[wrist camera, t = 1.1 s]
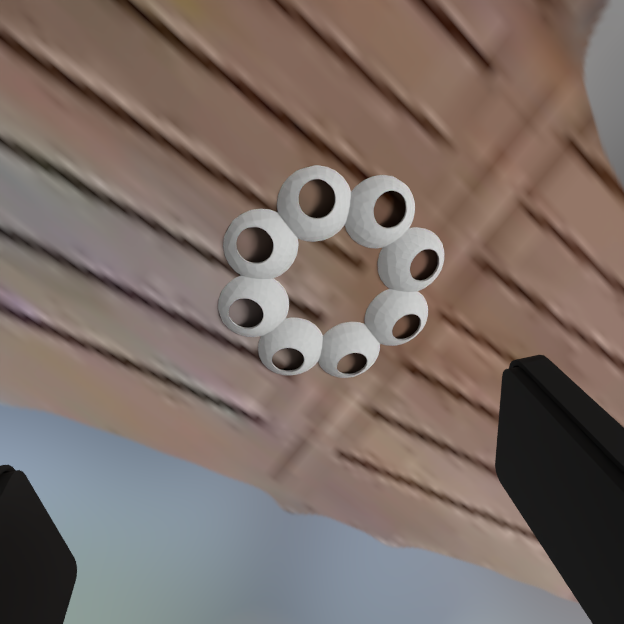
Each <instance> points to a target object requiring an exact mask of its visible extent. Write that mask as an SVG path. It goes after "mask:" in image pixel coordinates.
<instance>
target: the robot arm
mask: <svg viewBox="0 0 624 624" xmlns="http://www.w3.org/2000/svg"><path fill="white" fill-rule="evenodd" d="M495 468H496V473H497V476H498V478H499V481H500V483H501V484H502V486H503V487H504V489H505V490H506V492H507V493H508V495H509V497H510V498H511V500H512V501H513V503H514V504H515V506H516V507H517V509H518V510H519V512H520V513H521V515H522V516H523V518H524V519H525V521H526V522H527V524H528V526H529V527H530V529H531V530H532V532H533V533H534V535H535V536H536V538H537V539H538V541H539V542H540V544H541V545H542V547H543V548H544V550H545V552H546V553H547V555H548V556H549V558H550V559H551V561H552V562H553V564H554V565H555V567H556V568H557V570H558V571H559V573H560V574H561V576H562V578H563V579H564V581H565V582H566V584H567V585H568V587H569V588H570V590H571V591H572V593H573V594H574V596H575V597H576V599H577V600H578V602H579V603H580V605H581V607H582V608H583V610H584V611H585V613H586V614H587V616H588V617H589V619H590V620H591V622H592V623H593V624H624V428H623V427H622V426H621V425H620V424H619V423H618V422H617V421H616V420H615V419H614V418H612V417H611V416H610V415H609V414H608V413H607V412H606V411H605V410H604V409H603V408H602V407H600V406H599V405H598V404H597V403H596V402H595V401H594V400H593V399H592V398H591V397H589V396H588V395H587V394H586V393H585V392H584V391H583V390H582V389H581V388H580V387H579V386H577V385H576V384H575V383H574V382H573V381H572V380H571V379H570V378H569V377H568V376H567V375H565V374H564V373H563V372H562V371H561V370H560V369H559V368H558V367H557V366H556V365H555V364H553V363H552V362H551V361H550V360H549V359H548V358H547V357H545V356H544V355H536V356H532V357H527V358H522V359H517V360H514V361H512V362H511V363H510V366H509V369H506V370H504V372H503V375H502V387H501V399H500V411H499V424H498V436H497V449H496V461H495ZM76 576H77V565H76V561H75V558H74V557H73V555H72V553H71V551H70V550H69V548H68V546H67V545H66V543H65V541H64V540H63V538H62V536H61V535H60V533H59V531H58V529H57V528H56V526H55V524H54V523H53V521H52V519H51V517H50V516H49V514H48V512H47V511H46V509H45V507H44V506H43V504H42V502H41V501H40V499H39V497H38V496H37V494H36V492H35V491H34V489H33V487H32V485H31V484H30V482H29V480H28V479H27V477H26V475H25V474H24V473H23V472H22V471H20V470H17V471H15V469H14V468H13V467H11V466H10V465H2V466H0V624H63V622H64V619H65V615H66V612H67V608H68V605H69V602H70V598H71V595H72V591H73V588H74V584H75V581H76Z"/></svg>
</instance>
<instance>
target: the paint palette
mask: <svg viewBox="0 0 624 624" xmlns="http://www.w3.org/2000/svg"><path fill="white" fill-rule="evenodd" d="M313 179H321V180H324V181H326V182H327V183H328V184H329V185H330V186H331V187H332V189H333V190H334V194H335V203H334V207H333V208H332V210H331V212H330V213H329V214H328V215H326V216H324V217H321V218H312V217H309V216H307V215H306V214H305V213H304V212H303V211H302V210H301V208H300V205H299V199H298V196H299V192H300V190H301V188H302V187H303V185H304V184H305V183H307V182H308V181H310V180H313ZM387 191H397V192H399V193H400V194H401V195H402V196H403V198H404V200H405V205H406V210H405V214H404V217H403V219H402V220H401V221H400V222H399V223H398V224H397V225H396V226H394V227H390V228H385V227H382V226H380V225H379V224H378V223H377V222H376V220H375V218H374V213H373V209H374V205H375V202H376V200H377V199H378V198H379V196H380V195H381V194H383V193H384V192H387ZM277 210H278V213H277V212H275V211H272V210H268V209H255V210H250V211H247V212H245V213H243V214H241V215H239V216H238V217H237V218H236V219H234V220H233V221H232V223H231V225H230V226H229V228H228V230H227V232H226V234H225V236H224V244H223V248H224V253H225V257H226V259H227V261H228V263H229V265H230V266H231V267H232V268H233V269H234V270H235V271H236V272H237V273H239V274H240V275H242V276H239V277H237V278H235V279H233V280H232V281H231V282H229V283H228V284H227V285H226V286H225V288H224V289H223V290H222V292H221V295H220V297H219V302H218V310H219V313H220V317H221V319H222V321H223V323H224V324H225V325H226V326H227V327H228V328H229V329H230V330H232V331H233V332H235V333H237V334H239V335H243V336H246V337H258V336H261V338H260V340H259V345H258V352H259V357H260V359H261V361H262V363H263V364H264V365H265V366H266V367H267V368H268V369H269V370H271V371H273V372H275V373H278V374H282V375H295V374H300V373H303V372H305V371H307V370H309V369H310V368H312V367H313V366H314V365H315V364H316V363H317V362H319V364H320V366H321V368H322V369H323V370H324V371H325V372H327V373H328V374H330V375H332V376H336V377H340V378H348V377H354V376H357V375H359V374H361V373H363V372H365V371H366V370H367V369H369V368H370V367H371V366H372V365H373V364H374V362H375V360H376V359H377V357H378V354H379V350H380V344H383V345H393V346H394V345H399V344H403V343H405V342H408V341H410V340H411V339H413V338H414V337H415V336H416V335H417V334H418V333H419V332H420V331H421V330H422V328H423V327H424V325H425V323H426V320H427V317H428V306H427V303H426V300H425V299H424V297H423V296H422V294H420V293H419V292H418V291H419V290H421V289H424V288H425V287H427V286H428V285H430V284H431V283H432V282H433V281H434V280H435V279H436V278H437V276H438V274H439V273H440V271H441V269H442V266H443V262H444V249H443V244H442V242H441V241H440V239H439V238H438V236H436V235H435V234H434V233H433V232H432V231H429V230H427V229H425V228H417V227H415V228H409V227H410V225H411V223H412V221H413V217H414V213H415V202H414V199H413V195H412V193H411V191H410V189H409V188H408V186H407V185H405V184H404V183H403V182H401V181H400V180H398V179H396V178H395V177H393V176H387V175H378V176H373V177H370V178H368V179H366V180H364V181H362V182H361V183H360V184H358V185H357V186H356V187H355V188H354V189H353V191H352V192H351V191H350V188H349V185H348V184H347V182H346V181H345V179H344V178H343V177H342V176H341V175H340V174H339V173H337V172H336V171H335V170H333V169H330V168H328V167H324V166H318V165H315V166H311V167H306V168H303V169H300V170H297V171H296V172H294V173H293V174H292V175H291V176H289V177H288V178H287V180H286V181H285V182H284V184H283V185H282V187H281V190H280V192H279V195H278V201H277ZM344 225H345V227H346V230H347V232H348V234H349V235H350V236H351V238H352V239H353V240H354V241H356V242H357V243H358V244H360V245H362V246H365V247H368V248H382V247H383V248H382V250H381V252H380V254H379V259H378V273H379V276H380V279H381V280H382V281H383V283H384V284H385V285H386V286H387V287H388V288H390V289H388V290H385V291H383V292H382V293H380V294H379V295H378V296H376V297H375V298H374V300H373V301H372V302H371V303H370V305H369V307H368V309H367V311H366V315H365V324H363V323H360V322H346V323H342V324H339V325H337V326H334V327H333V328H331V329H330V330H329V331H327V332H326V333H325V335H324V336H322V333H321V331H320V330H319V329H318V328H317V326H316V325H314V324H313V323H311V322H310V321H308V320H305V319H302V318H286V316H287V313H288V309H289V300H288V295H287V293H286V291H285V289H284V288H283V286H282V285H281V284H280V283H279V282H278V281H276V280H275V279H273V278H275V277H277V276H280V275H281V274H283V273H284V272H285V271H286V270H288V268H289V267H290V266H291V265H292V263H293V262H294V260H295V257H296V255H297V251H298V238H299V239H301V240H304V241H313V242H315V241H321V240H325V239H327V238H330V237H332V236H333V235H335V234H336V233H337V232H339V231H340V230H341V229H342V227H343V226H344ZM249 227H259V228H262V229H264V230H265V231H267V232H268V234H269V235H270V236H271V238H272V240H273V251H272V254H271V255H270V257H269V258H268V259H267V260H265V261H263V262H259V263H252V262H249V261H247V260H245V259H244V258H243V257H241V256H240V254H239V252H238V250H237V246H236V241H237V237H238V235H239V234H240V233H241V231H242V230H244V229H246V228H249ZM425 249H432V250H434V251H435V252H436V253H437V256H438V265H437V267H436V270H435V271H434V273H433V274H432V275H431V276H430V277H428V278H427V279H425V280H420V281H419V280H415V279H414V278H412V276H411V274H410V265H411V262H412V260H413V258H414V257H415V256H416V255H417V254H418V253H419V252H420V251H422V250H425ZM243 298H246V299H251V300H254V301H255V302H257V303H258V304H259V305H260V306H261V308H262V310H263V319H262V321H261V322H260V323H259V324H258V325H256V326H254V327H250V328H245V327H241V326H238V325H237V324H236V323H234V322H233V321H232V320H231V318H230V317H229V312H228V311H229V307H230V306H231V304H232V303H233V302H234V301H236V300H238V299H243ZM408 314H415V315H417V316H418V317H419V318H420V325H419V327H418V329H417V330H416V332H415V333H414V334H412V335H411V336H409V337H407V338H404V339H397V338H395V337H394V336H393V335H392V329H393V326H394V324H395V323H396V321H397V320H399V319H400V318H401V317H403V316H405V315H408ZM285 318H286V319H285ZM283 348H293V349H296V350H298V351H300V352H301V353H302V354H303V356H304V362H303V364H302V365H301V366H300V367H299V368H297V369H295V370H290V371H285V370H280V369H279V368H277V367H275V366H274V364H273V363H272V356H273V355H274V354H275V352H277V351H278V350H280V349H283ZM350 353H361V354H363V355H364V356H366V358H367V362H366V364H365V366H364V367H363V368H362V369H361V370H360V371H358V372H356V373H352V374H343V373H341V372H339V371H338V370H337V363H338V362H339V360H340V359H341V358H342V357H344V356H345V355H347V354H350Z"/></svg>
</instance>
